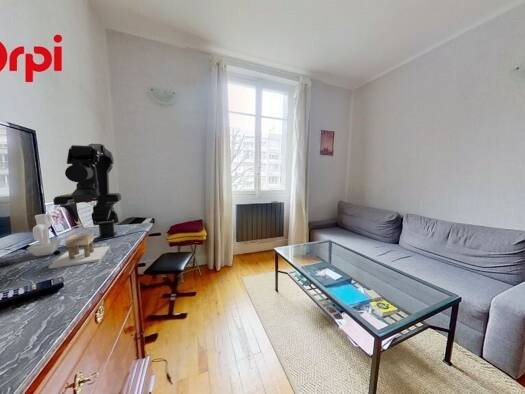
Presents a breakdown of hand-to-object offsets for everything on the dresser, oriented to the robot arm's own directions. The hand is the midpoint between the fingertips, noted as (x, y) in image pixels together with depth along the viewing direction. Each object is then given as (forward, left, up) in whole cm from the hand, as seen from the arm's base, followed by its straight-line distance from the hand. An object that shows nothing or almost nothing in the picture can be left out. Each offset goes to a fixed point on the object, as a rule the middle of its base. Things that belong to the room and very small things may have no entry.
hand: (92, 220), depth 77 cm
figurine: (-6, -16, -12) cm, 21 cm away
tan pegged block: (+5, -3, -11) cm, 13 cm away
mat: (+5, -2, -12) cm, 13 cm away
